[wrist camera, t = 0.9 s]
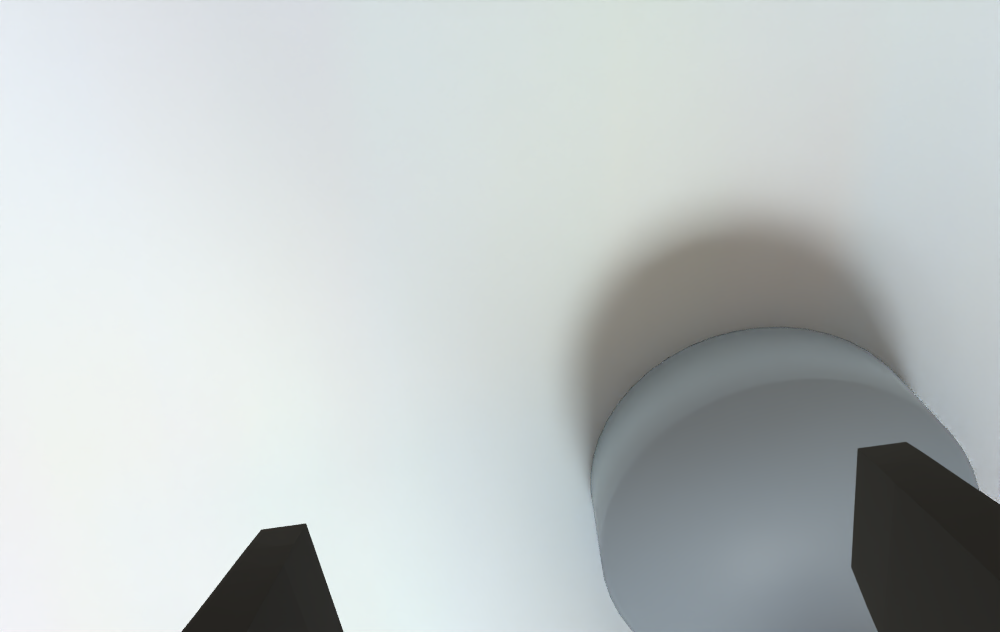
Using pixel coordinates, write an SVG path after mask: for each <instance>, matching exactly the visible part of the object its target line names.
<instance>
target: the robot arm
mask: <svg viewBox="0 0 1000 632" xmlns="http://www.w3.org/2000/svg"><path fill="white" fill-rule="evenodd" d="M851 568H852V571H853V573H854V576H855V578H856V581H857V583H858V586H859V588H860V591H861V593H862V596H863V598H864V601H865V603H866V606H867V608H868V610H869V613H870V615H871V617H872V620H873V622H874V624H875V627H876V629H877V631H878V632H1000V504H998V503H997V502H995V501H994V500H992V499H991V498H989V497H988V496H986V495H985V494H984V493H982V492H981V491H979V490H978V489H976V488H975V487H973V486H972V485H970V484H969V483H967V482H966V481H964V480H963V479H961V478H960V477H958V476H957V475H956V474H954V473H953V472H951V471H950V470H948V469H947V468H945V467H944V466H942V465H941V464H939V463H938V462H936V461H935V460H933V459H932V458H931V457H929V456H928V455H926V454H925V453H923V452H922V451H920V450H918V449H917V448H915V447H914V446H912V445H911V444H909V443H908V442H900V443H893V444H885V445H878V446H871V447H863V448H858V450H857V468H856V486H855V504H854V522H853V540H852V558H851ZM182 632H343V629H342V626H341V624H340V621H339V618H338V615H337V612H336V609H335V606H334V603H333V600H332V597H331V595H330V592H329V589H328V586H327V583H326V580H325V577H324V574H323V571H322V568H321V566H320V563H319V560H318V557H317V554H316V551H315V548H314V545H313V542H312V539H311V537H310V534H309V531H308V528H307V525H306V524H299V525H292V526H285V527H277V528H270V529H263V530H261V531H260V532H259V533H258V535H257V536H256V537H255V538H254V540H253V541H252V542H251V543H250V545H249V546H248V547H247V548H246V550H245V551H244V552H243V553H242V555H241V556H240V557H239V559H238V560H237V561H236V562H235V564H234V565H233V566H232V568H231V569H230V570H229V571H228V573H227V574H226V575H225V577H224V578H223V579H222V581H221V582H220V583H219V584H218V586H217V587H216V588H215V590H214V591H213V592H212V594H211V595H210V596H209V597H208V599H207V600H206V601H205V603H204V604H203V605H202V606H201V608H200V609H199V610H198V612H197V613H196V614H195V616H194V617H193V618H192V619H191V621H190V622H189V623H188V624H187V626H186V627H185V628H184V629H183V631H182Z"/></svg>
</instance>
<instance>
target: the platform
mask: <svg viewBox="0 0 1000 632" xmlns="http://www.w3.org/2000/svg"><path fill="white" fill-rule="evenodd" d="M900 442H908V443H909V444H911V445H912V446H914V447H915V448H917V449H918V450H920V451H922V452H923V453H925V454H926V455H928V456H929V457H931V458H932V459H933V460H935V461H936V462H938V463H939V464H941V465H942V466H944V467H945V468H947V469H948V470H950V471H951V472H953V473H954V474H956V475H957V476H958V477H960V478H961V479H963V480H964V481H966V482H967V483H969V484H970V485H972V486H973V487H975V488H976V489H978V490H979V488H978V485H977V482H976V478H975V475H974V471H973V469H972V467H971V465H970V463H969V461H968V458H967V456H966V454H965V452H964V451H963V449H962V448H961V447H960V445H959V444H958V442H957V441H956V440H955V438H954V437H953V436H952V434H951V433H950V432H949V431H948V430H947V429H946V428H945V427H944V426H943V424H942V423H941V422H940V421H939V420H938V419H937V418H936V417H935V416H934V415H933V414H932V413H931V412H930V411H929V409H928V408H927V407H926V406H925V405H924V404H923V403H922V402H921V401H920V400H919V399H918V398H917V397H916V395H915V394H914V393H913V392H912V391H911V390H910V389H909V388H908V387H907V386H906V385H905V384H904V383H903V381H902V380H901V379H900V378H899V377H898V376H897V375H896V374H895V373H894V372H893V371H892V370H891V369H890V368H889V367H888V366H887V365H886V364H885V363H883V362H882V361H881V360H879V359H878V358H876V357H875V356H874V355H872V354H871V353H869V352H868V351H866V350H864V349H862V348H861V347H859V346H857V345H855V344H853V343H851V342H849V341H846V340H844V339H841V338H838V337H835V336H832V335H829V334H826V333H821V332H817V331H812V330H807V329H799V328H787V327H769V328H754V329H747V330H741V331H734V332H731V333H727V334H723V335H720V336H716V337H712V338H709V339H707V340H704V341H702V342H699V343H697V344H694V345H692V346H690V347H688V348H686V349H684V350H682V351H680V352H678V353H676V354H675V355H673V356H671V357H669V358H667V359H666V360H665V361H663V362H662V363H660V364H659V365H658V366H656V367H655V368H653V369H652V370H650V371H649V372H648V373H647V374H646V375H645V376H644V377H643V378H641V379H640V380H639V381H638V382H637V383H636V384H635V385H634V386H633V387H632V388H631V389H630V390H629V391H628V393H627V394H626V395H625V396H624V397H623V398H622V400H621V401H620V402H619V403H618V405H617V406H616V408H615V409H614V411H613V412H612V414H611V416H610V417H609V419H608V420H607V422H606V425H605V427H604V429H603V431H602V433H601V435H600V437H599V440H598V444H597V447H596V450H595V453H594V457H593V464H592V471H591V495H592V502H593V508H594V515H595V522H596V529H597V535H598V542H599V549H600V556H601V562H602V568H603V574H604V580H605V583H606V586H607V589H608V591H609V594H610V597H611V599H612V601H613V603H614V605H615V607H616V608H617V610H618V612H619V614H620V615H621V617H622V618H623V619H624V621H625V622H626V623H627V625H628V626H629V627H630V629H631V630H632V631H633V632H878V631H877V629H876V627H875V624H874V622H873V620H872V617H871V615H870V613H869V610H868V608H867V606H866V603H865V601H864V598H863V596H862V593H861V591H860V588H859V586H858V583H857V581H856V578H855V576H854V573H853V571H852V568H851V558H852V540H853V522H854V504H855V486H856V468H857V450H858V448H863V447H871V446H878V445H885V444H893V443H900Z"/></svg>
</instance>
